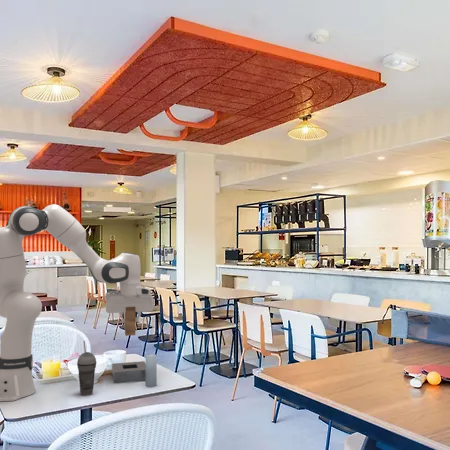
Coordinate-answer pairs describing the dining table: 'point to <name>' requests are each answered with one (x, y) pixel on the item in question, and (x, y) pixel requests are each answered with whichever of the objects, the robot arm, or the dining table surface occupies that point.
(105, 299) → the robot arm
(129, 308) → the square peg
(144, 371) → the bore block
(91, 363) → the beverage cup
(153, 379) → the round peg
